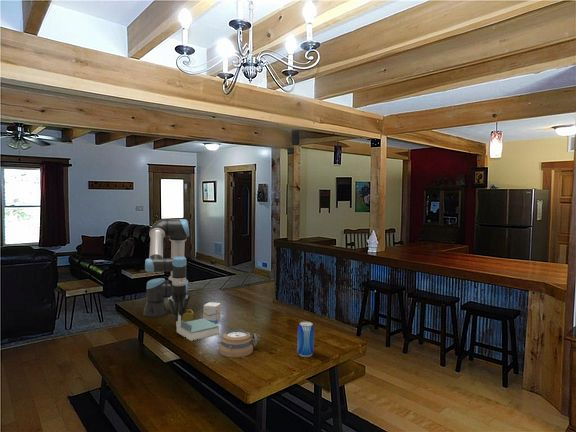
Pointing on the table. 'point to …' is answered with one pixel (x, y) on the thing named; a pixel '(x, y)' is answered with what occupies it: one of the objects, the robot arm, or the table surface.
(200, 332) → the white square tray
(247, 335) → the alarm clock
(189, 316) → the flower pot
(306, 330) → the beer can
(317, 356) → the table surface
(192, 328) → the lid
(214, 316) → the ink box
